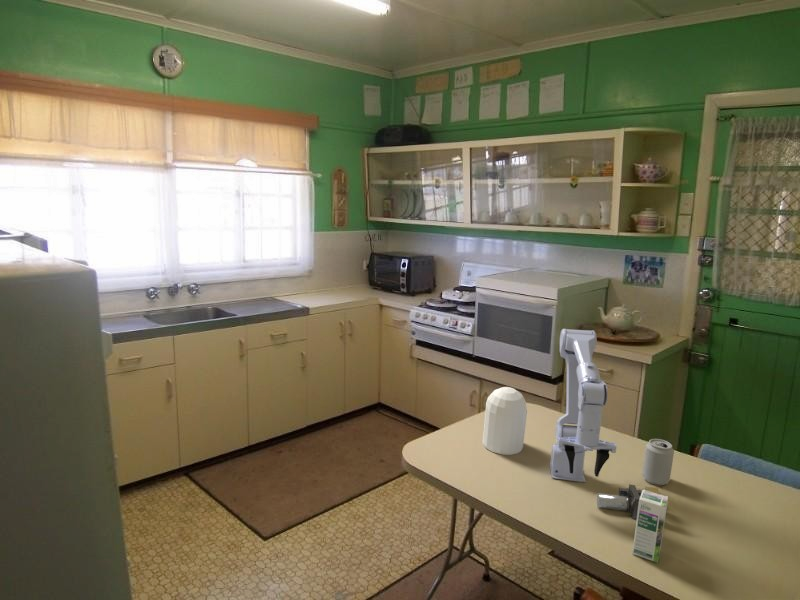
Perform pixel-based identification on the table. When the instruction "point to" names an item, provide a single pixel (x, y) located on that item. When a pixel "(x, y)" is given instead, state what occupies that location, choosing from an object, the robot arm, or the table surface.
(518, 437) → the container
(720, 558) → the table surface
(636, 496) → the collar bracket
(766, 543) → the table surface
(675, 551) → the table surface
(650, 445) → the can
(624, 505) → the tube
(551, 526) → the table surface
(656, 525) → the syrup box
